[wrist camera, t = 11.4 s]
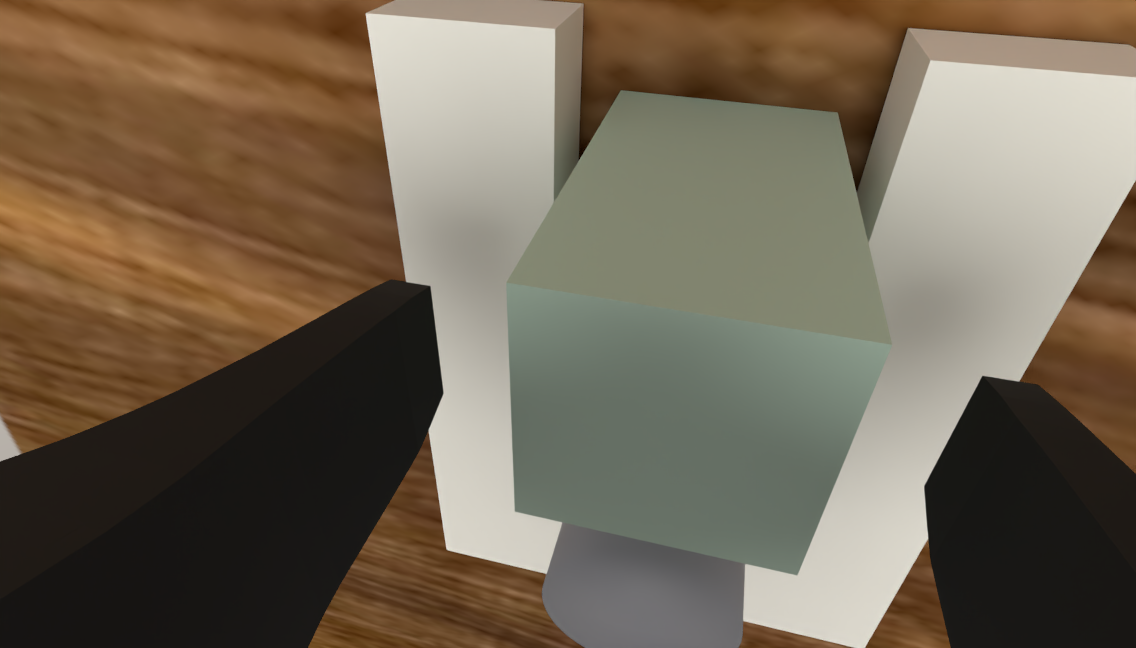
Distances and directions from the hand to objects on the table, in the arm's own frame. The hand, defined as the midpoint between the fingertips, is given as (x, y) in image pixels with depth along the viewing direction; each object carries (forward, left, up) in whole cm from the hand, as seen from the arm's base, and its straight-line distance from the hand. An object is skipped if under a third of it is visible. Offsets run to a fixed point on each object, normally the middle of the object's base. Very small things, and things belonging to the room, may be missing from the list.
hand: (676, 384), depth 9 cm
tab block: (0, 0, -6) cm, 6 cm away
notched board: (-4, 0, -6) cm, 7 cm away
